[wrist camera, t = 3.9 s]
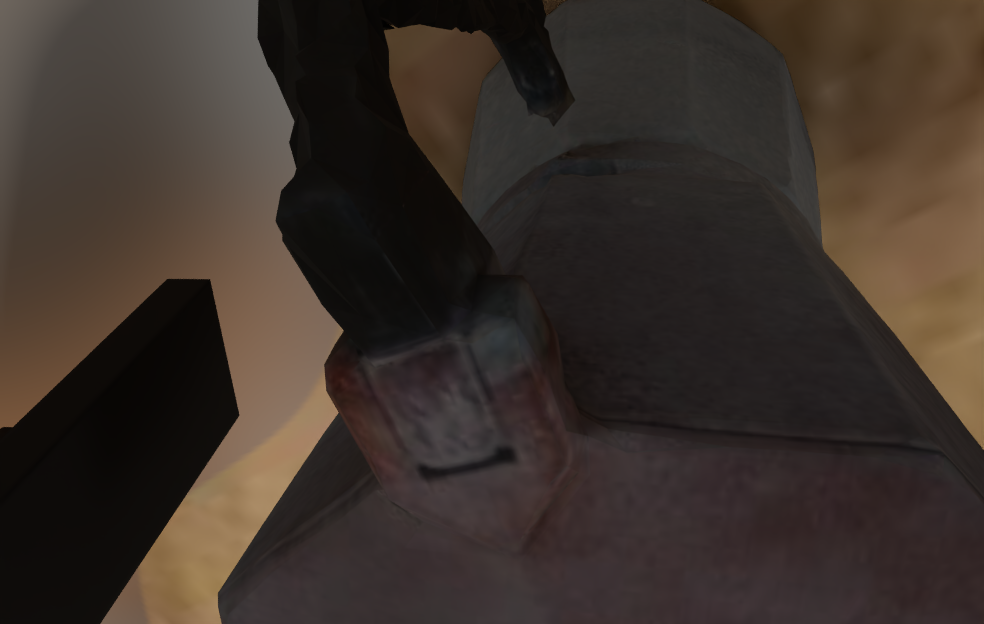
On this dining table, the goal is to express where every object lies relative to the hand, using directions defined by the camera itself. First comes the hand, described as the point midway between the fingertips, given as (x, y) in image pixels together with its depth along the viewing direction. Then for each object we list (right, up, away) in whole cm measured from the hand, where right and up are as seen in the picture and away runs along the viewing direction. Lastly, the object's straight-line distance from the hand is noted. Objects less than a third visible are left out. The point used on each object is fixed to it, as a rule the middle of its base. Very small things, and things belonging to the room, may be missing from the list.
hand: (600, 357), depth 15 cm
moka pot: (+2, +5, +9) cm, 11 cm away
